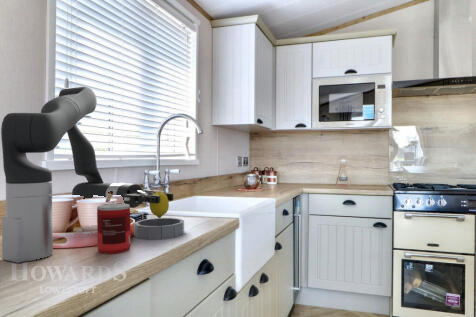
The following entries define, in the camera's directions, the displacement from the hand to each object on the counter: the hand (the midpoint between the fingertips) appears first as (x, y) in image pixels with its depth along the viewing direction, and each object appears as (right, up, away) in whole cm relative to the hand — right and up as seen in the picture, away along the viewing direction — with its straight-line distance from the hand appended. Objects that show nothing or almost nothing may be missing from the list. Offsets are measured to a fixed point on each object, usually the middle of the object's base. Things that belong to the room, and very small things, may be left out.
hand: (166, 198), depth 104 cm
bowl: (-2, -11, +1) cm, 11 cm away
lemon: (-2, -6, +1) cm, 7 cm away
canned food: (-9, -11, -17) cm, 22 cm away
